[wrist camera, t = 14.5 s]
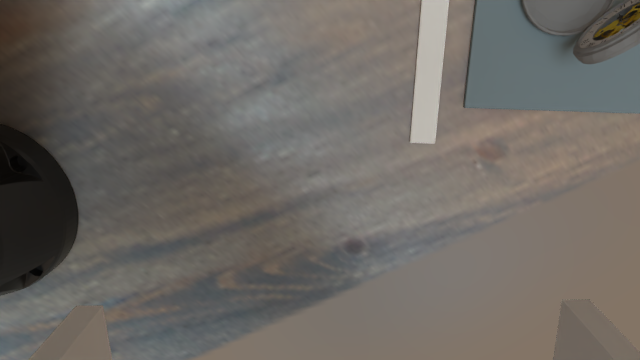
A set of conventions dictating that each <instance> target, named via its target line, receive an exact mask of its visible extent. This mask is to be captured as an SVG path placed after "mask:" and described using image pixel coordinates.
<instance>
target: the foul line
mask: <svg viewBox="0 0 640 360" xmlns="http://www.w3.org/2000/svg"><path fill="white" fill-rule="evenodd" d="M448 6H449V0H421V11H420V23H419V35H418V47H417V59H416V72H415V84H414V96H413V108H412V120H411V133H410V143H431V144H435V139H436V129H437V119H438V109H439V99H440V88H441V78H442V68H443V58H444V47H445V37H446V27H447V17H448Z"/></svg>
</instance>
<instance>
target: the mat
mask: <svg viewBox="0 0 640 360" xmlns="http://www.w3.org/2000/svg"><path fill="white" fill-rule="evenodd" d="M623 1H625V0H614V3H613V5H612V7H611V8H610V10H611V9H612V8H613V7H615V6H617V5H618V4H620V3H622V2H623ZM623 29H624V28H623ZM623 29H622V30H623ZM622 30H620V31H622ZM620 31H619V32H620ZM582 34H583V32H581V33H579V34H574V35H569V36H561V35H551V34H548V33H546V32H544V31H542V30H540V29H538V28H537V27H536V26H535V25H534V24H533V23H532V22H531V21H530V20H529V18H528V17H527V15H526V13H525V11H524V8H523V5H522V0H475V8H474V17H473V26H472V35H471V44H470V53H469V61H468V70H467V79H466V88H465V97H464V106H463V107H464V108H488V109H518V110H549V111H580V112H610V113H640V44H638V45H636V46H635V47H633V48H631V49H629V50H628V51H626V52H624V53H622V54H620V55H618V56H616V57H613V58H611V59H608V60H606V61H603V62H600V63H596V64H583V63H581V61H579V60H578V59H577V58H576V57H575V56H574V54H573V48H574V46H575V45H576V42H577V41H578V39H579V38H580V36H581V35H582ZM609 37H610V36H609Z"/></svg>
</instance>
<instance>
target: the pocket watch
mask: <svg viewBox="0 0 640 360" xmlns="http://www.w3.org/2000/svg"><path fill="white" fill-rule="evenodd" d="M613 3H614V0H522V5H523V8H524V11H525V13H526V15H527V17H528V18H529V20H530V21H531V22H532V23H533V24H534V25H535V26H536V27H537V28H538V29H540V30H542V31H544V32H546V33H548V34H551V35H561V36H569V35H574V34H579V33H581V32H583V34H582V35H581V36H580V38H579V39H578V41H577V42H576V45H575V46H574V48H573V54H574V56H575V57H576V58H577V59H578V60H579V61H581V63H583V64H596V63H600V62H603V61H606V60H608V59H611V58H613V57H616V56H618V55H620V54H622V53H624V52H626V51H628V50H629V49H631V48H633V47H635V46H636V45H638V44H640V0H625V1H623V2H622V3H620V4H618V5H617V6H615V7H613V8H612V9H611V10H610V8H611V7H612V5H613ZM623 28H624V29H623ZM622 29H623V30H622ZM620 30H622V31H620ZM619 31H620V32H619ZM609 36H610V37H609Z"/></svg>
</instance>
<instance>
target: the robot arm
mask: <svg viewBox="0 0 640 360" xmlns="http://www.w3.org/2000/svg"><path fill="white" fill-rule="evenodd" d="M77 223H78V214H77V206H76V201H75V197H74V194H73V191H72V188H71V186H70V183H69V181H68V179H67V177H66V176H65V174H64V172H63V171H62V169H61V168H60V166H59V165H58V164H57V162H56V161H55V160H54V159H53V158H52V156H51V155H50V154H49V153H48V152H47V151H46V150H45V149H43V148H42V147H41V146H40V145H39V144H37V143H36V142H35V141H33V140H32V139H31V138H29V137H27V136H26V135H24V134H22V133H20V132H19V131H17V130H14V129H12V128H10V127H7V126H4V125H1V124H0V296H1V295H5V294H8V293H11V292H14V291H18V290H21V289H24V288H26V287H28V286H30V285H32V284H34V283H36V282H37V281H39V280H40V279H42V278H43V277H44V276H46V275H47V274H48V273H49V272H50V271H52V270H53V269H54V268H55V267H57V266H58V265H59V264H60V263H61V262H62V261H63V259H64V258H65V257H66V256H67V254H68V253H69V251H70V249H71V247H72V245H73V242H74V239H75V236H76V232H77ZM29 360H112V355H111V350H110V344H109V338H108V333H107V327H106V321H105V316H104V310H103V306H76V307H75V308H74V309H73V310H72V311H71V312H70V314H69V315H68V316H67V317H66V318H65V319H64V320H63V321H62V323H61V324H60V325H59V326H58V327H57V328H56V329H55V331H54V332H53V333H52V334H51V335H50V336H49V337H48V338H47V340H46V341H45V342H44V343H43V344H42V345H41V346H40V347H39V349H38V350H37V351H36V352H35V353H34V354H33V355H32V357H31V358H30V359H29ZM553 360H640V351H639V350H638V349H637V348H636V347H635V346H634V345H633V344H632V343H631V342H630V341H629V340H628V339H627V338H626V337H625V336H624V335H623V334H622V333H621V332H620V331H619V330H618V329H617V328H616V326H615V325H614V324H613V323H612V322H611V321H610V320H609V319H608V318H607V317H606V316H605V315H604V314H603V313H602V312H601V311H600V310H599V309H598V308H597V307H596V306H595V305H594V304H593V303H592V302H591V301H590V300H589V299H578V300H577V299H574V300H573V299H572V300H562V303H561V311H560V317H559V324H558V331H557V337H556V344H555V351H554V357H553Z"/></svg>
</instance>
